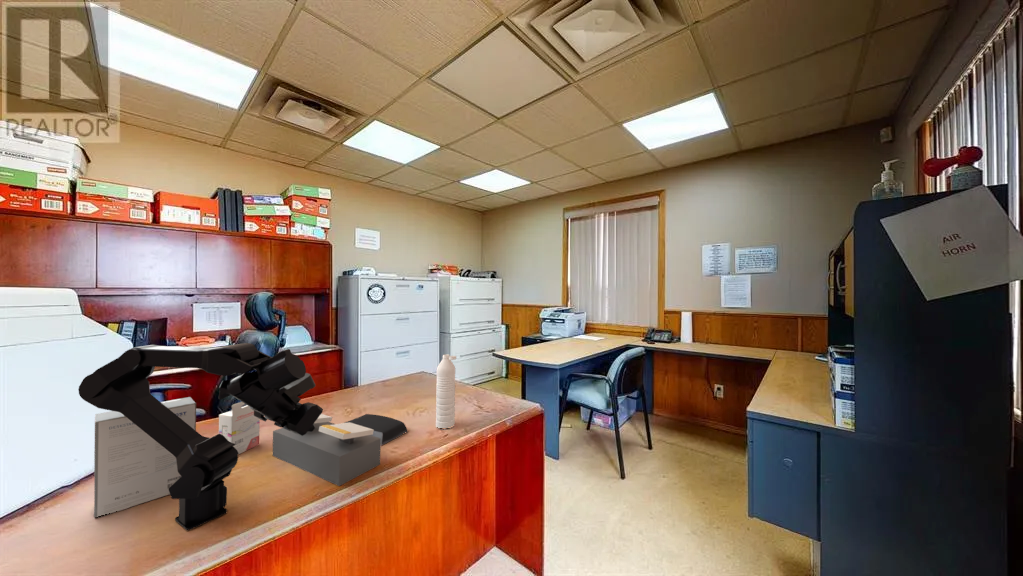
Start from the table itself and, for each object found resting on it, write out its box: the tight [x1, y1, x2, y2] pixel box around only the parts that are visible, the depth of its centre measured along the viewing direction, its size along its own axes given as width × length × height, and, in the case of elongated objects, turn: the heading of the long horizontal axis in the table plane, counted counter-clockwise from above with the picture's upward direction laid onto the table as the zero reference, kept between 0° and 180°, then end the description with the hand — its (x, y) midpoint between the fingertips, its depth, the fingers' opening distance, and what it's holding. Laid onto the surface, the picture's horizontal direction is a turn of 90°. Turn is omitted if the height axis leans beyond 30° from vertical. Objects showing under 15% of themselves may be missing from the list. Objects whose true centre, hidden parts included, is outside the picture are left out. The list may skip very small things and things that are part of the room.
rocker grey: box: [314, 413, 333, 423], centre depth 99 cm, size 9×10×1 cm
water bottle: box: [435, 353, 457, 429], centre depth 118 cm, size 9×6×25 cm
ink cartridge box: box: [218, 401, 261, 455], centre depth 99 cm, size 9×5×15 cm, turn 168°
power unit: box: [272, 421, 382, 487], centre depth 94 cm, size 12×30×9 cm, turn 61°
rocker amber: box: [319, 422, 374, 439], centre depth 90 cm, size 9×10×1 cm
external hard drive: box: [344, 413, 408, 447], centre depth 112 cm, size 13×19×4 cm
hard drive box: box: [93, 396, 197, 518], centre depth 77 cm, size 16×8×20 cm, turn 141°
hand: (312, 429), depth 82 cm, fingers closed
